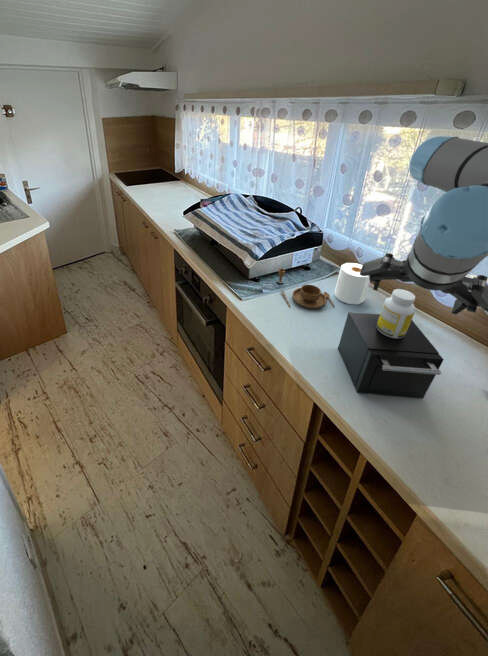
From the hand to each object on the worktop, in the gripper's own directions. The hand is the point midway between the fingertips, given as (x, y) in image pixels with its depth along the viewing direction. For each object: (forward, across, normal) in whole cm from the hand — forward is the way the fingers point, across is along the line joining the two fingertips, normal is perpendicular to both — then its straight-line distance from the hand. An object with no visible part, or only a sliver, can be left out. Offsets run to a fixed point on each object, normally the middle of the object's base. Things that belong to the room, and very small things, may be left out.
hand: (414, 295), depth 63 cm
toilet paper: (+53, +15, -8) cm, 56 cm away
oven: (+30, +1, +15) cm, 33 cm away
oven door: (+24, -4, +21) cm, 32 cm away
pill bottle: (+20, +1, +5) cm, 21 cm away
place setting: (+47, +30, -2) cm, 55 cm away
